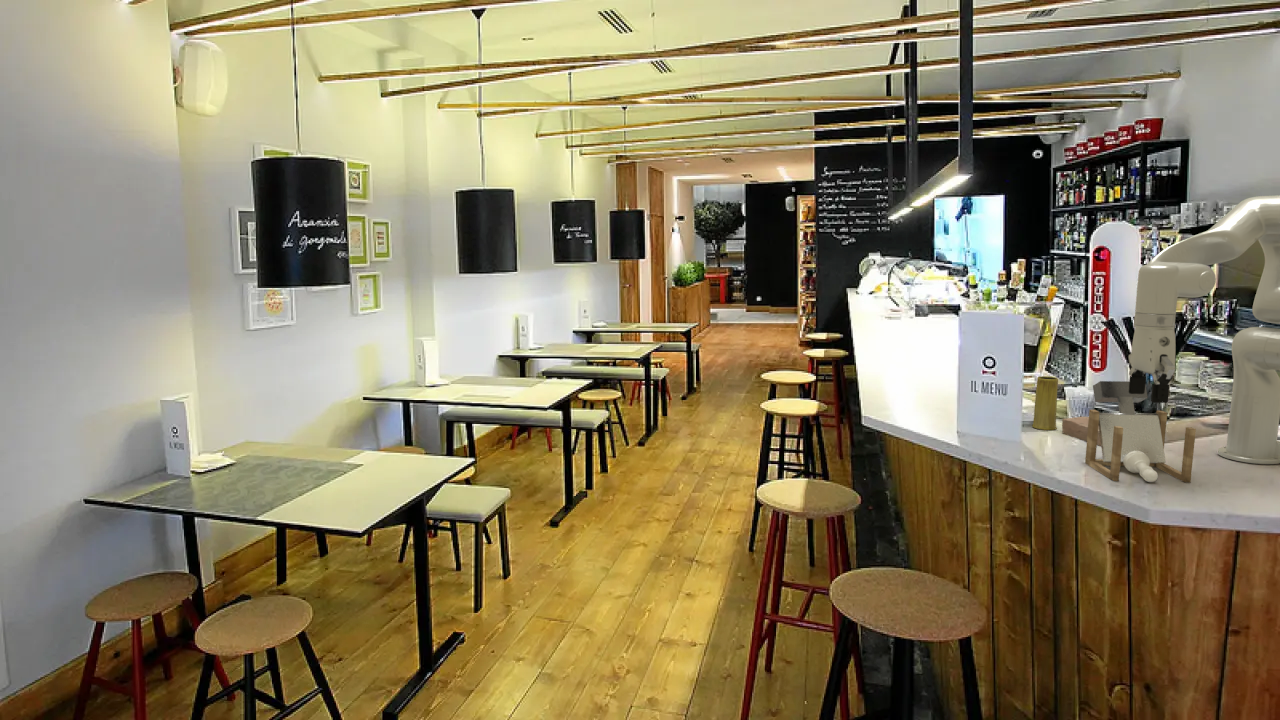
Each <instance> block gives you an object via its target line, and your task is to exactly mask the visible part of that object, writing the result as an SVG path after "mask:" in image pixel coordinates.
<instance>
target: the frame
mask: <svg viewBox="0 0 1280 720" xmlns="http://www.w3.org/2000/svg"><path fill="white" fill-rule="evenodd" d="M1099 413H1100V411H1098V410H1096V409H1089V411H1088V417H1089V421H1088V433H1087V441H1086V447H1085V461H1084V464H1086V465H1087V466H1089V467H1091V468H1092V469H1093V470H1095V471H1097V472H1098V473H1100V474H1102V475H1103V476H1105V477H1106V478H1107V479H1109V480H1111V481H1112V480H1113V481H1112V482H1119V481H1120V472H1121V471H1120V470H1121V467H1125V466H1124V463H1123V462H1120V461H1121V450H1122V438H1123V428H1122V427H1120V426H1114V433H1113V445H1112V456H1111V462H1103V458H1102V459H1101V458H1100V459H1099V458H1098V459H1097V446H1098V445H1097V436H1098V423H1099ZM1155 414H1158V416H1159V423H1160V429H1161V435H1162V442H1163V448H1164V449H1165V440H1166V432H1167V431H1166V429H1167V423H1168V422H1167V419H1168V412H1166V411H1164V410H1156V412H1155ZM1184 430H1185V432H1184V442H1183V453H1182V461H1181V462H1182V463H1181V471H1180V470H1178V469H1175V468H1174V467H1172V466H1170V465H1168V464H1166V463H1150V465H1149V467H1152V468H1157V469H1158V470H1161V471H1163V472H1165V473H1166V474H1167V475H1170V476H1171V477H1173V478H1175V479H1177V480H1179V481H1181V482H1182V483H1185V484H1187V483H1188V484H1190V483H1191V481H1192V472H1193V471H1192V470H1193V461H1194V452H1195V443H1196V440H1195V439H1196V433H1197V432H1196V431H1197V429H1196V428H1194V427H1185V429H1184ZM1106 466H1107V467H1109V466H1110V469H1109V468H1107V467H1106Z"/></svg>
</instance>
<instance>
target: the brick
mask: <svg viewBox="0 0 1280 720" xmlns="http://www.w3.org/2000/svg"><path fill="white" fill-rule="evenodd" d="M1088 421H1089V416H1077V417H1069V418H1063V419H1062V421H1061V422H1062V423H1061V430H1062V431H1061V432H1062V434H1065V435H1067V436H1069V437H1071V438H1074V439H1078V440H1081V441H1083V442H1087V433H1088ZM1097 446H1100V447H1101V440H1100V433H1099V426H1098V436H1097Z"/></svg>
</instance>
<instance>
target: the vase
mask: <svg viewBox="0 0 1280 720" xmlns="http://www.w3.org/2000/svg"><path fill="white" fill-rule="evenodd" d="M1058 386H1059V377H1056V376H1046V375H1045V376H1044V375H1043V376H1037V378H1036V386H1035V387H1036V390H1035V399H1034V408H1033V410H1034V411H1033V421H1032V425H1031V426H1032V428H1033V429H1036V430H1042V431H1054V430H1057V409H1058V408H1057V407H1058V405H1057V404H1058V388H1059V387H1058Z"/></svg>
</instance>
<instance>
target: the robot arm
mask: <svg viewBox="0 0 1280 720" xmlns="http://www.w3.org/2000/svg"><path fill="white" fill-rule="evenodd" d="M1257 241H1258V243H1259V244H1260V247H1261V248H1262V252H1263V254H1264V265H1263V271H1262V274H1261V277H1260V281H1259V284H1258V286H1257V289H1256V292H1255V293H1256V294H1255V296H1254V300H1253V305H1252V309H1251V310H1252V315H1253V316H1254V318H1255V319H1256V320H1258V321H1261V322H1265V323H1271V324H1276V325H1278V324H1279V325H1280V195H1259V196H1252V197H1248V198H1245V199H1243V200H1242V201H1240V202H1238V203H1237V204H1236V205H1235V206H1234V207H1233V208H1232V209H1231V210H1229V212H1227V213H1226V214H1225V215H1224V216H1223V217H1222V218H1220V219H1219V220H1218V221H1217V222H1216V223H1215V224H1214V225H1212V226H1211V227H1210V228H1208V230H1206V231H1203V232H1199V233H1198V234H1195V235H1192V236H1191V237H1188V238H1186V239H1183V240H1179V241H1178V242H1176V243H1173V244H1171V245H1169V246H1168V247H1165V248H1164V249H1163V250H1162V251H1160V252H1159V253H1158V254H1156V255H1155V256H1154V257H1153V258H1152V259H1151V260H1149V262H1148V263H1147V264H1144V265H1142V266H1140V268H1139V270H1138V276H1137V285H1136V286H1137V288H1136V296H1135V297H1136V298H1135V309H1134V319H1133V320H1134V321H1133V328H1134V333H1133V339H1132V343H1131V349H1130V350H1131V353H1130V354H1128V363H1129V364H1128V367H1129V371H1128V375H1129V393H1130V394H1144V393H1145V384H1146V380H1147V379H1146V378H1147V376H1145V374H1148V375H1151V376H1152V379H1153V382H1154V383H1153V384H1151V386H1152V387H1151V396H1150V402H1152V403H1154V404H1156V403H1157V404H1166V403H1167V404H1168V401H1169V395H1170V394H1169V393H1170V385H1171V384H1172V380H1173V378H1174V373H1175V370H1176V347H1177V346H1176V333H1175V328H1176V327H1175V325H1176V315H1177V305H1178V298H1193V299H1194V298H1202V297H1203V296H1206V295H1208V294H1209V293H1210V292H1212V290H1213V289H1214V288H1215V285H1216V282H1217V281H1216V280H1217V277H1216V274H1215V273H1216V272H1215V271H1214V270H1213V269H1212V268H1211V267H1210V266H1211V265H1217V264H1222V263H1225V262H1228V261H1233V260H1234V259H1237V258H1239V257H1240V256H1242V255H1243V254H1244V253H1245V252H1246V251H1247V250H1248V249H1249V248H1250V247H1251V246H1252V245H1254V243H1256V242H1257ZM1231 356H1232V361H1233V362H1232V363H1233V381H1232V391H1231V400H1230V401H1231V402H1230V410H1229V420H1228V427H1227V438H1226V446H1221V447H1219V448H1218V449H1217V454H1218V455H1219V456H1220V457H1223V458H1225V459H1229V460H1231V461H1232V460H1233V461H1237V462H1240V463H1247V464H1248V463H1249V464H1255V465H1256V464H1257V465H1258V464H1259V465H1279V464H1280V441H1279V440H1278V435H1279V434H1278V433H1279V426H1280V376H1279V374H1278V372H1277V371H1280V328H1277V327H1276V328H1275V327H1263V326H1254V327H1253V326H1252V327H1251V326H1250V327H1248V328H1247V327H1246V328H1243V329H1242V330H1239V331H1238V332H1236V334H1235V336H1234V337H1233V338H1232V342H1231Z"/></svg>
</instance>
